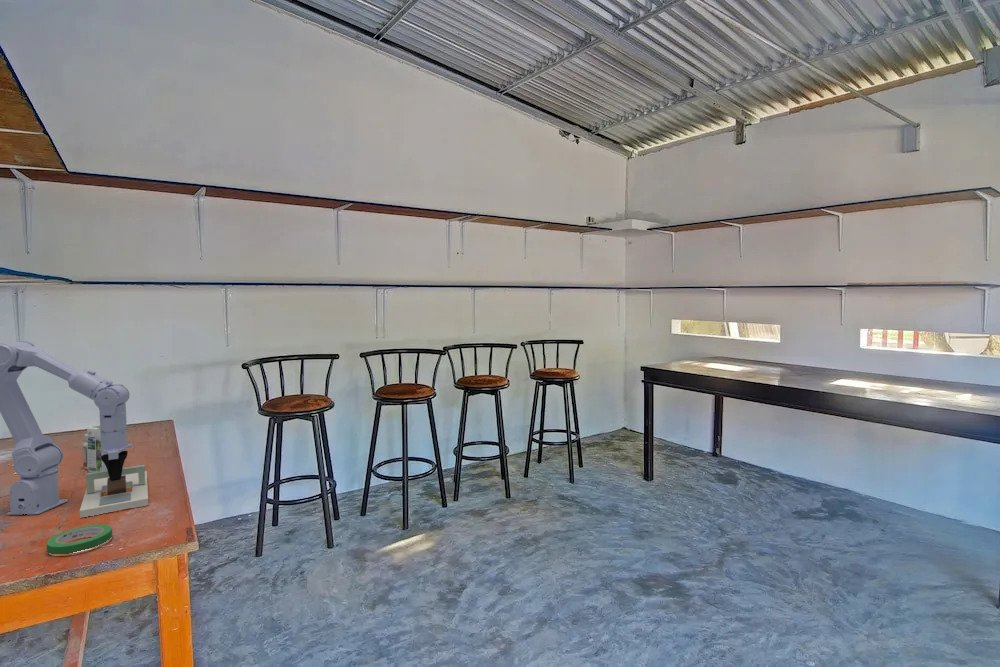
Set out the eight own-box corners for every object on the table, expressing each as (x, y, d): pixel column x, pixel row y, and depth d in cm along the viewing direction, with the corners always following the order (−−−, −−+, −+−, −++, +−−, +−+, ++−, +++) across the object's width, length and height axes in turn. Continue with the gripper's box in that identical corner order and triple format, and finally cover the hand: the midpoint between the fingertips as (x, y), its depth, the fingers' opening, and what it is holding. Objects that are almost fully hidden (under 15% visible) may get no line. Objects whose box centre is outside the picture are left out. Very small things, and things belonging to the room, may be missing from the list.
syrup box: (87, 472, 165) (85, 427, 165) (107, 467, 171) (105, 424, 170) (98, 474, 163) (96, 429, 163) (118, 468, 169) (116, 425, 168)
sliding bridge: (145, 483, 146) (144, 466, 145) (86, 493, 138) (86, 474, 138) (145, 482, 147) (144, 464, 147) (87, 491, 140) (86, 473, 140)
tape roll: (43, 563, 104) (43, 550, 104) (50, 544, 113) (50, 532, 113) (111, 548, 111) (111, 536, 111) (113, 531, 120) (112, 520, 120)
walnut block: (125, 496, 142) (125, 478, 142) (107, 499, 140) (107, 481, 140) (126, 492, 146) (125, 475, 145) (108, 495, 143) (107, 477, 143)
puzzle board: (148, 506, 135) (148, 497, 135) (79, 518, 127) (79, 509, 126) (146, 477, 159) (146, 470, 159) (89, 486, 151) (89, 478, 151)
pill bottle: (111, 464, 173) (111, 431, 173) (95, 470, 167) (94, 436, 167) (95, 464, 174) (94, 431, 174) (78, 469, 168) (77, 435, 167)
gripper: (131, 433, 134) (133, 484, 135) (132, 423, 146) (134, 470, 147) (97, 437, 130) (99, 489, 131) (101, 427, 142) (103, 475, 143)
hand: (115, 480), depth 138 cm, fingers closed
